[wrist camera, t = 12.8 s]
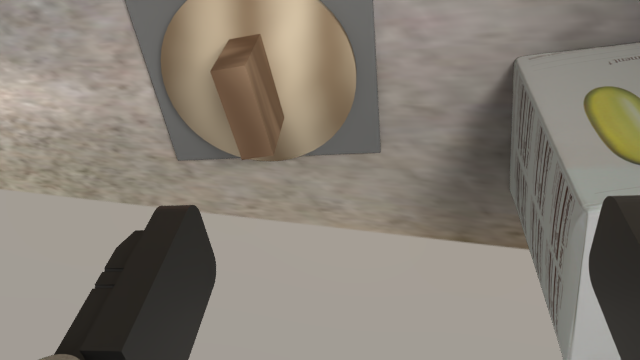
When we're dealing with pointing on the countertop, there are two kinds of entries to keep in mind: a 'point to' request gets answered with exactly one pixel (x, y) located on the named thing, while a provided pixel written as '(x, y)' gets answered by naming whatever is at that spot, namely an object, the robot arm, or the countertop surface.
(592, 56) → the supplement box
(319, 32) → the lid
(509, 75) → the countertop surface
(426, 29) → the countertop surface
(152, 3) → the mat
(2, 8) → the countertop surface
